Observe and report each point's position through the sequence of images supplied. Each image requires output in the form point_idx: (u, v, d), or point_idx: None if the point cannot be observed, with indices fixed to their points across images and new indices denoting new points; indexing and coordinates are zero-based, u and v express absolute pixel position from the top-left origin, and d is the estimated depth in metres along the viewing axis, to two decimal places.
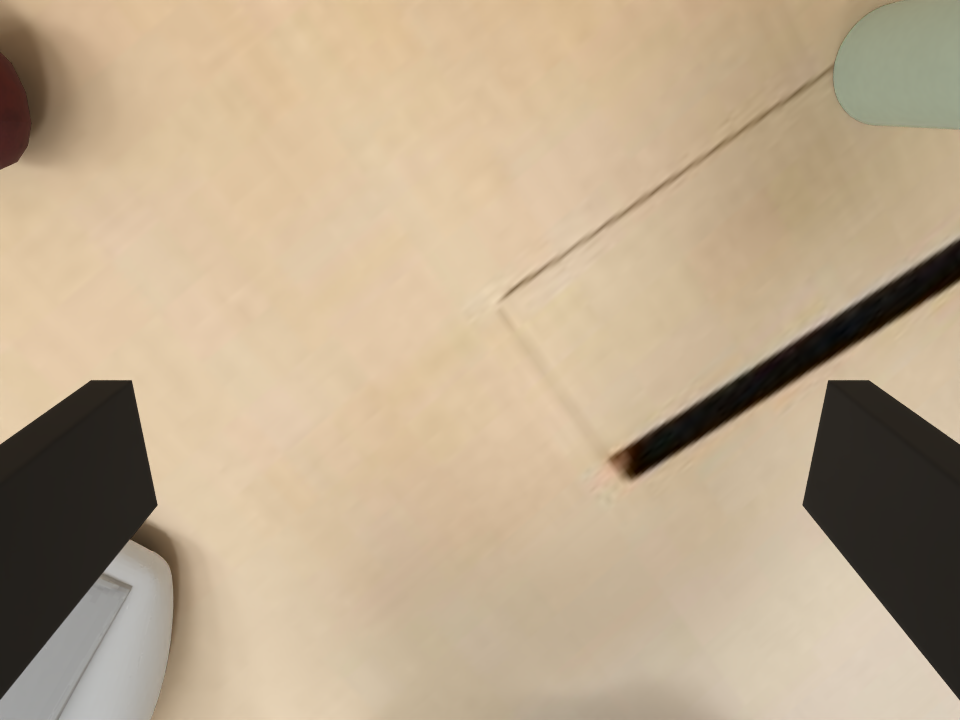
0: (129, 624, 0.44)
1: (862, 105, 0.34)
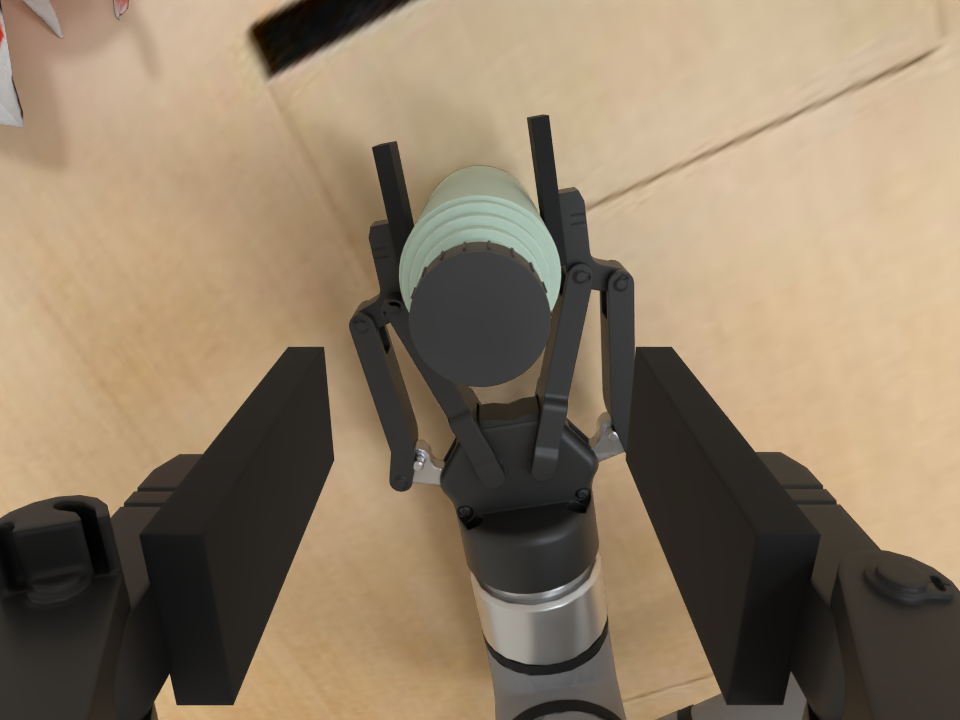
0: None
1: None
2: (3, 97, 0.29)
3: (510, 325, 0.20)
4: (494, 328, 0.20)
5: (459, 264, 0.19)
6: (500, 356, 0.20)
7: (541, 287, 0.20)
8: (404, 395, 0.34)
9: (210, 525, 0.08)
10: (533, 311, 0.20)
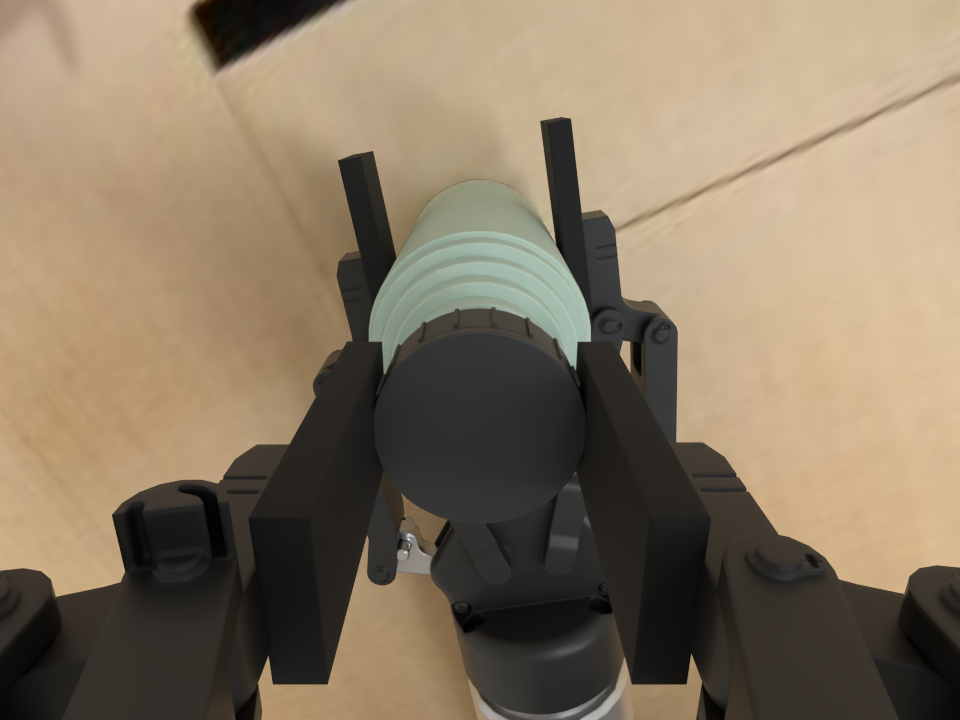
0: None
1: None
2: None
3: (525, 438, 0.13)
4: (501, 442, 0.13)
5: (448, 350, 0.12)
6: (510, 482, 0.14)
7: (573, 384, 0.13)
8: None
9: (314, 509, 0.08)
10: (561, 418, 0.13)
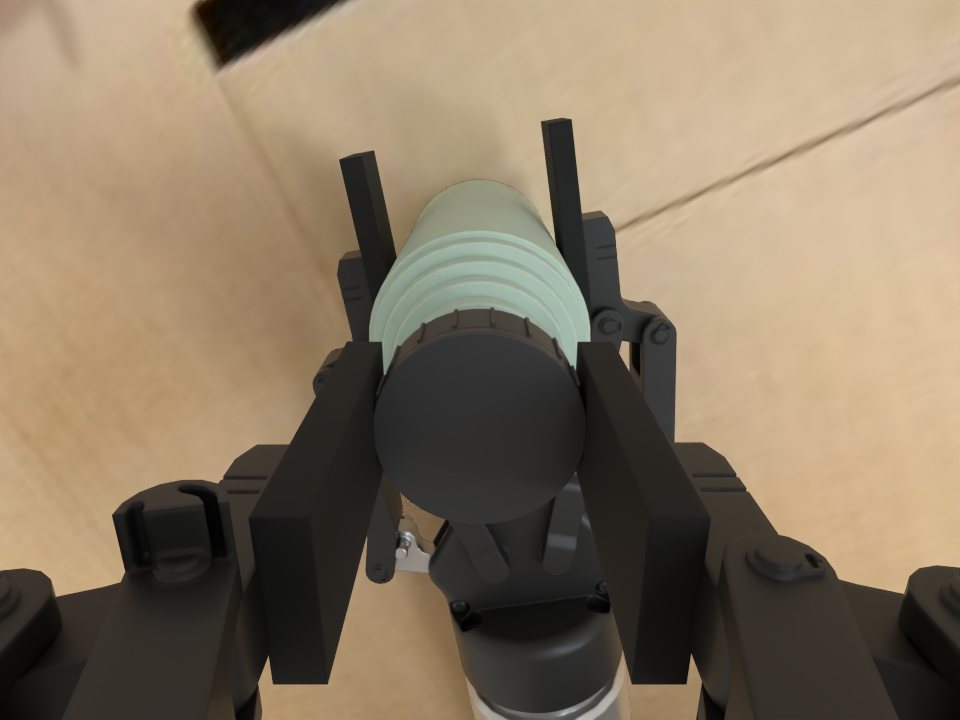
0: None
1: (544, 224, 0.27)
2: None
3: (476, 391, 0.13)
4: (486, 412, 0.13)
5: (400, 474, 0.13)
6: (530, 396, 0.13)
7: (407, 358, 0.13)
8: None
9: (314, 509, 0.08)
10: (446, 363, 0.13)
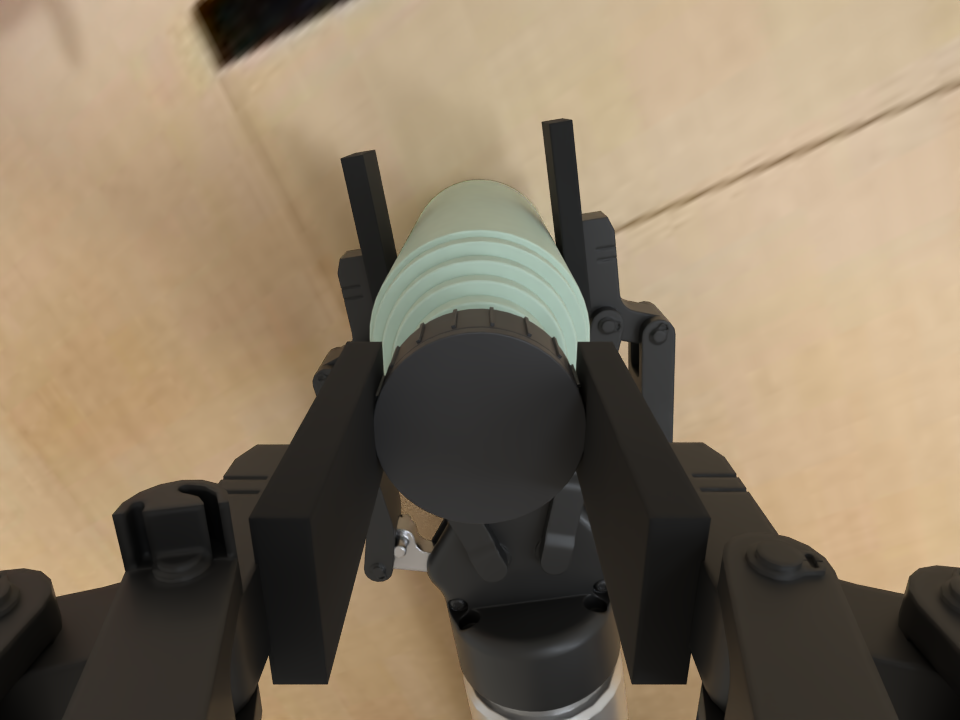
0: None
1: (544, 224, 0.27)
2: None
3: (435, 444, 0.13)
4: (455, 432, 0.13)
5: (537, 495, 0.14)
6: (429, 396, 0.13)
7: (416, 503, 0.14)
8: None
9: (314, 509, 0.08)
10: (412, 473, 0.13)
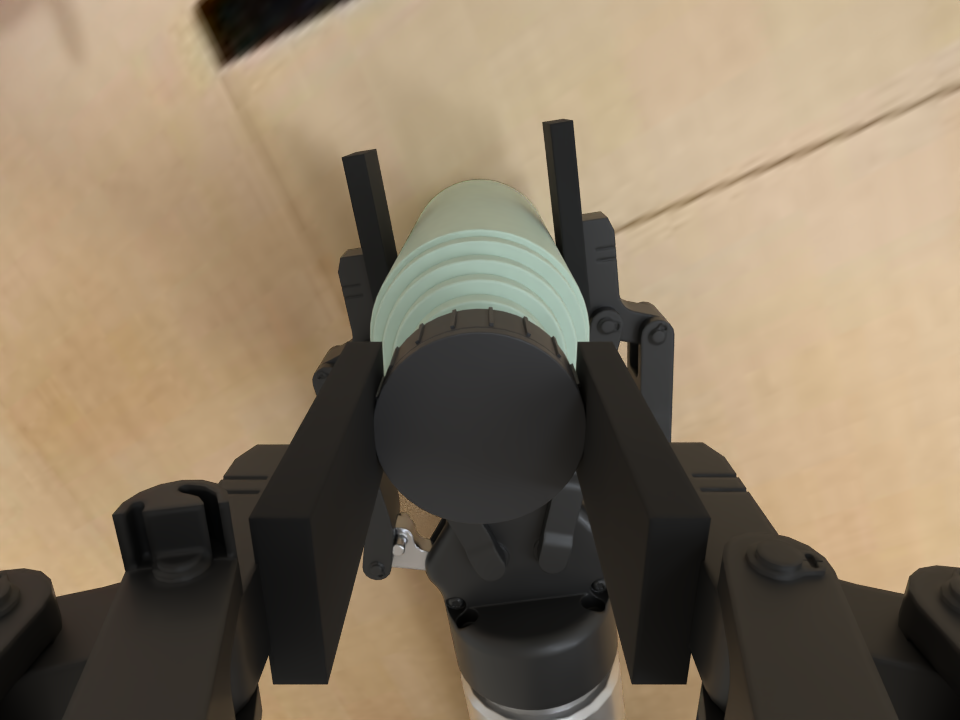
0: None
1: None
2: None
3: (498, 471, 0.13)
4: (482, 455, 0.13)
5: (542, 367, 0.13)
6: (449, 482, 0.14)
7: (570, 476, 0.14)
8: None
9: (314, 509, 0.08)
10: (534, 485, 0.14)
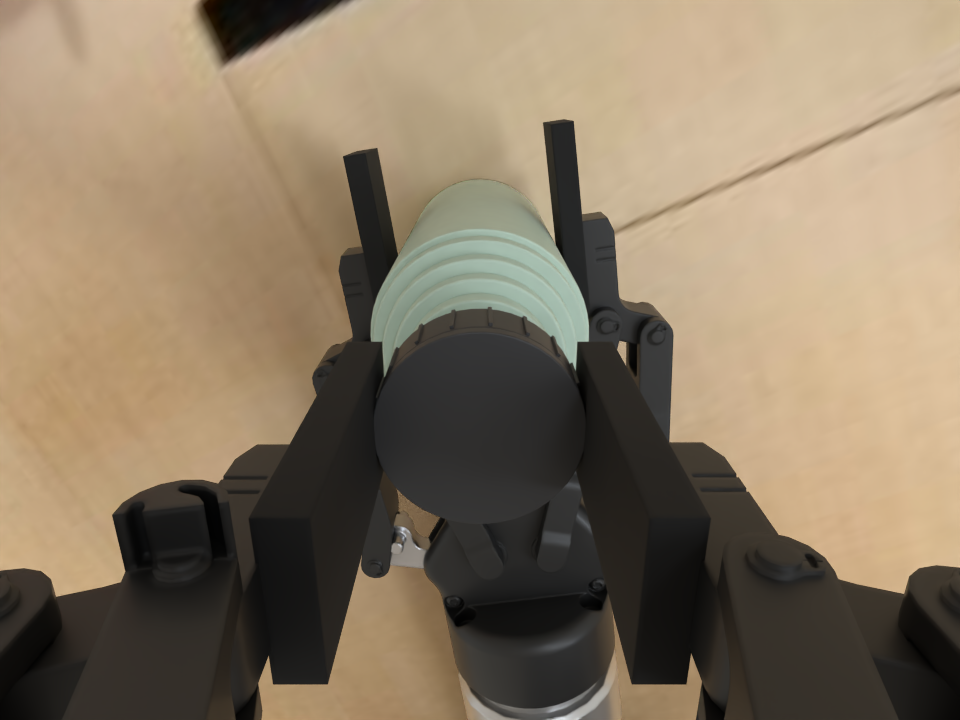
0: None
1: None
2: None
3: (518, 409, 0.13)
4: (503, 427, 0.13)
5: (396, 392, 0.13)
6: (539, 451, 0.13)
7: (513, 338, 0.12)
8: None
9: (314, 509, 0.08)
10: (530, 372, 0.13)
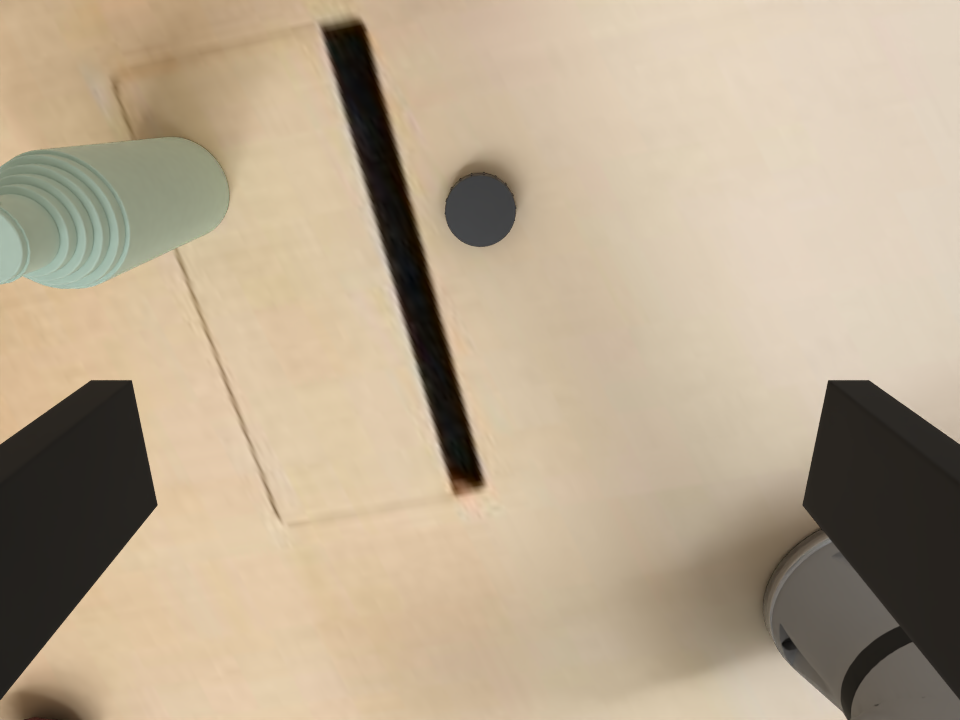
0: None
1: None
2: None
3: (492, 202, 0.40)
4: (488, 209, 0.40)
5: (453, 196, 0.40)
6: (500, 218, 0.40)
7: (491, 177, 0.39)
8: None
9: None
10: (496, 189, 0.40)
